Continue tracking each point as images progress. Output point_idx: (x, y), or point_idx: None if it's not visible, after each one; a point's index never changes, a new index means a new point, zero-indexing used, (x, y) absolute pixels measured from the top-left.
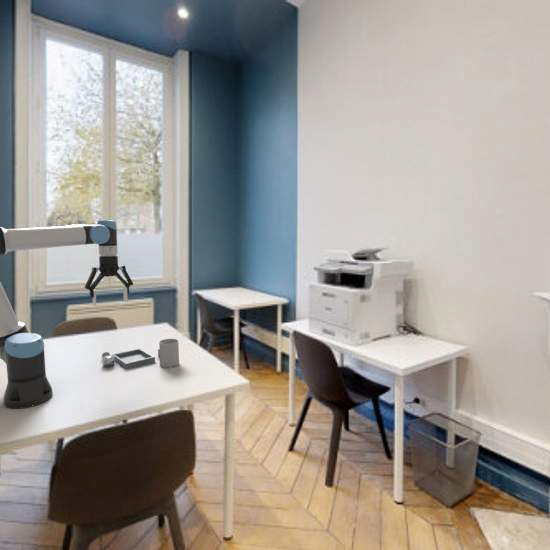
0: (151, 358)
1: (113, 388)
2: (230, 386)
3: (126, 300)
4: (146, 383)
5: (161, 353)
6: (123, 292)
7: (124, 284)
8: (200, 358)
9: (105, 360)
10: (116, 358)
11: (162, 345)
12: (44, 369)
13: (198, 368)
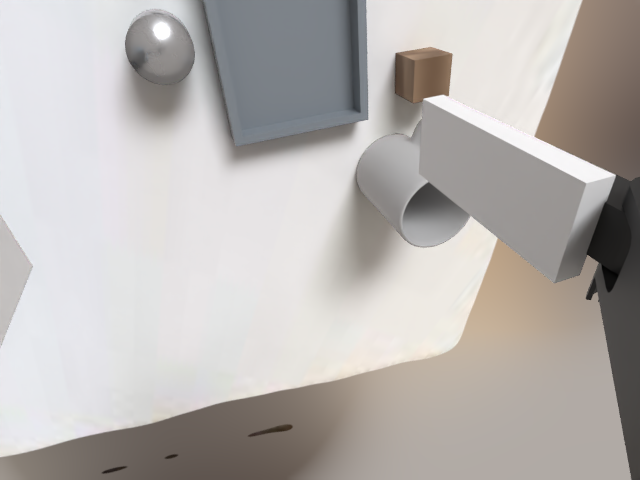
0: (351, 122)
1: (164, 296)
2: (421, 358)
3: (430, 175)
4: (266, 292)
5: (379, 206)
6: (498, 140)
7: (637, 229)
8: None
9: (143, 75)
10: (207, 15)
11: (398, 230)
12: None
13: None
